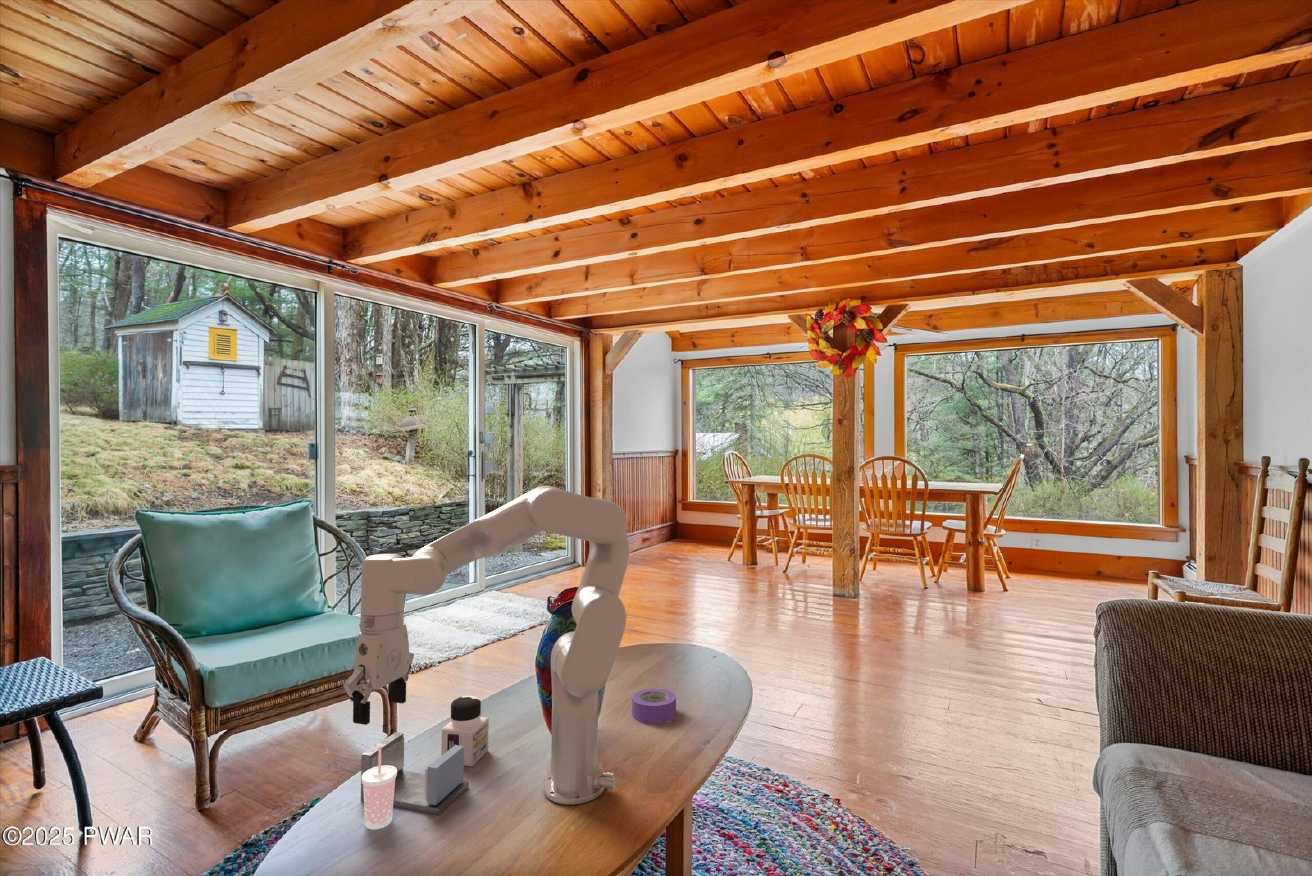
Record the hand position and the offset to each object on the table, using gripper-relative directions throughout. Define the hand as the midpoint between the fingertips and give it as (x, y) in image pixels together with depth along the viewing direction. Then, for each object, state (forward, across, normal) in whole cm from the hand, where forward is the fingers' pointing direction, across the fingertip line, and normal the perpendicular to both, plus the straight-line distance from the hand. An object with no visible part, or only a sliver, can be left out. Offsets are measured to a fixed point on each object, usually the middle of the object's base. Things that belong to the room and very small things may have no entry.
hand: (380, 712), depth 115 cm
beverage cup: (+20, 0, 0) cm, 21 cm away
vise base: (+20, +10, -1) cm, 23 cm away
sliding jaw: (+19, +10, -7) cm, 22 cm away
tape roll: (+20, +60, -36) cm, 73 cm away
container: (+20, +26, -2) cm, 33 cm away
